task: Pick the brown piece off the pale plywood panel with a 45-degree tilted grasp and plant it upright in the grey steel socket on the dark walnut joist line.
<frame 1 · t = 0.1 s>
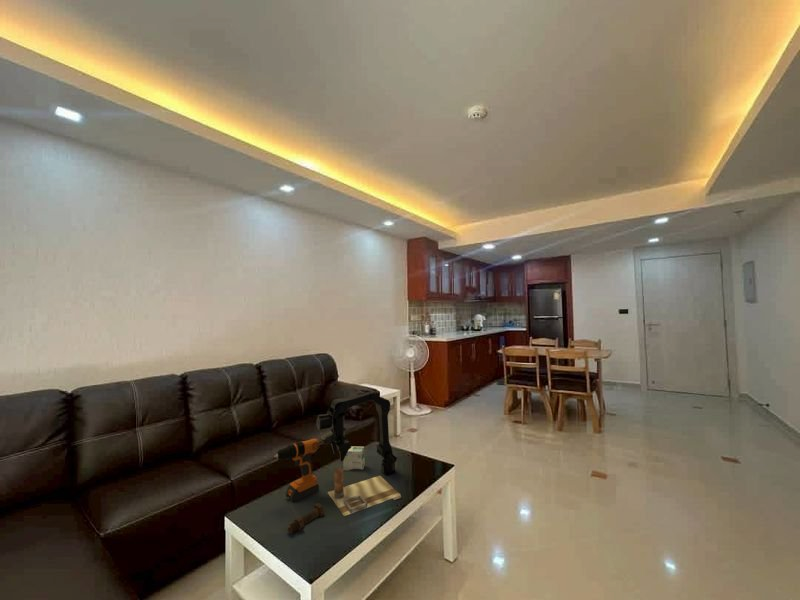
hand: (338, 457, 161), 15 cm above the table, tool pointing down, fingers open, 9 cm apart
subfloor panel: (363, 496, 153), on the table
bolt: (305, 525, 133), on the table
light bulb box: (354, 468, 180), on the table
power drill: (298, 497, 153), on the table
brown piece: (339, 496, 151), point 1 cm above the table, touching subfloor panel
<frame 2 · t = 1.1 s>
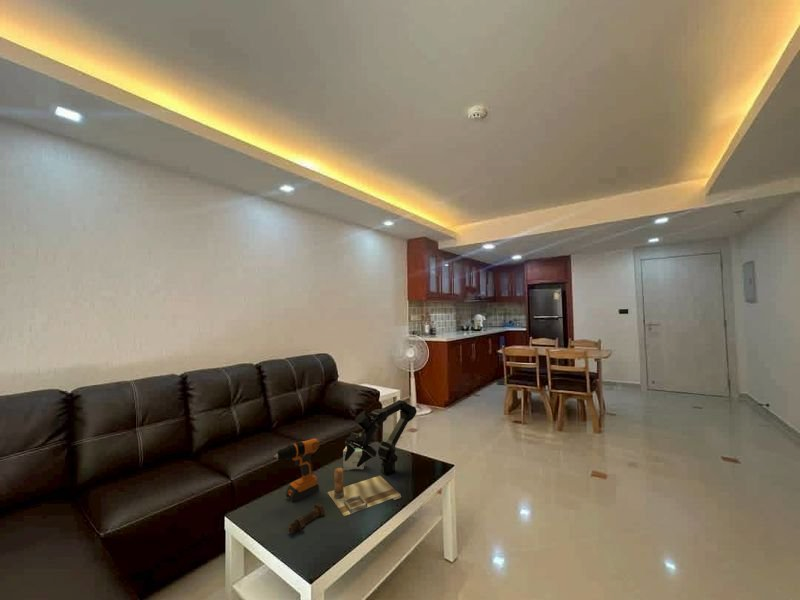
hand: (351, 463, 157), 13 cm above the table, tool tilted 45°, fingers open, 9 cm apart
nothing on the table moved.
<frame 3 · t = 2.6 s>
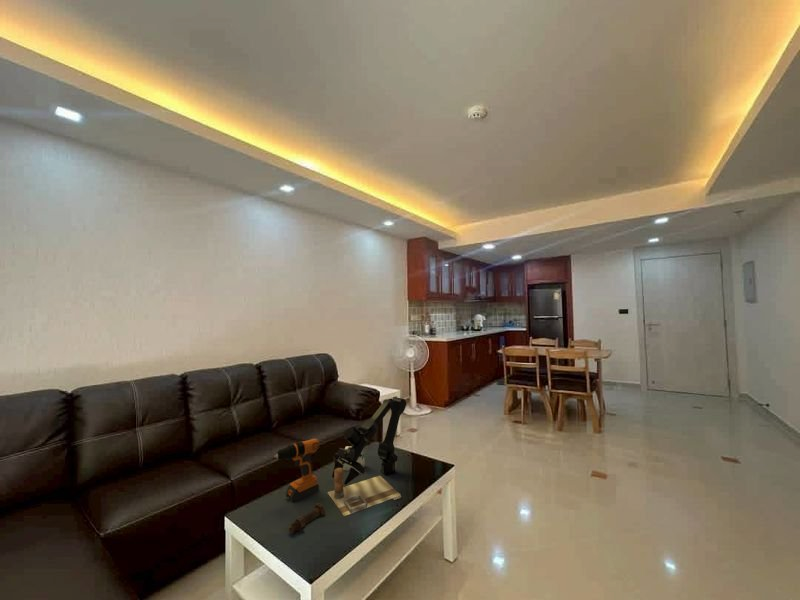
hand: (338, 480, 151), 8 cm above the table, tool tilted 45°, fingers open, 9 cm apart
nothing on the table moved.
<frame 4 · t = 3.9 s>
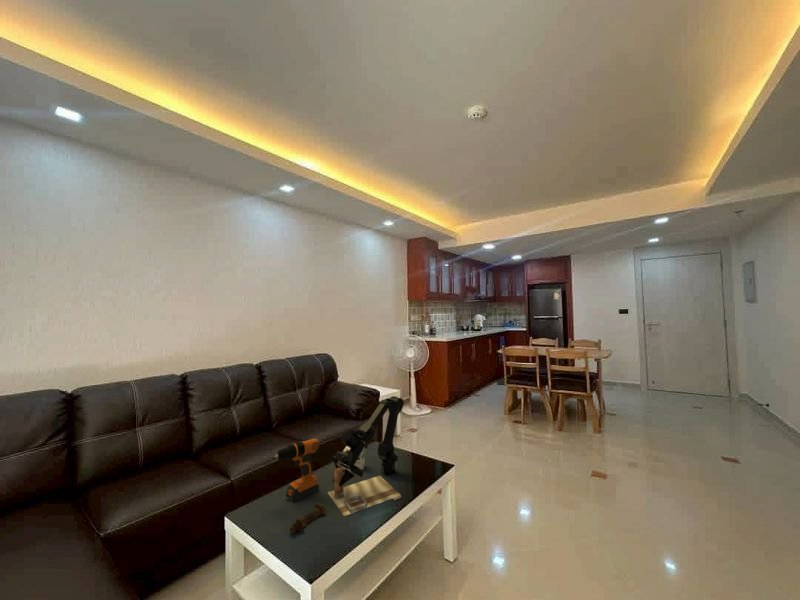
hand: (336, 484, 150), 7 cm above the table, tool tilted 45°, fingers closed on brown piece, 4 cm apart
brown piece: (339, 496, 151), point 1 cm above the table, touching gripper, subfloor panel
everything else where it was.
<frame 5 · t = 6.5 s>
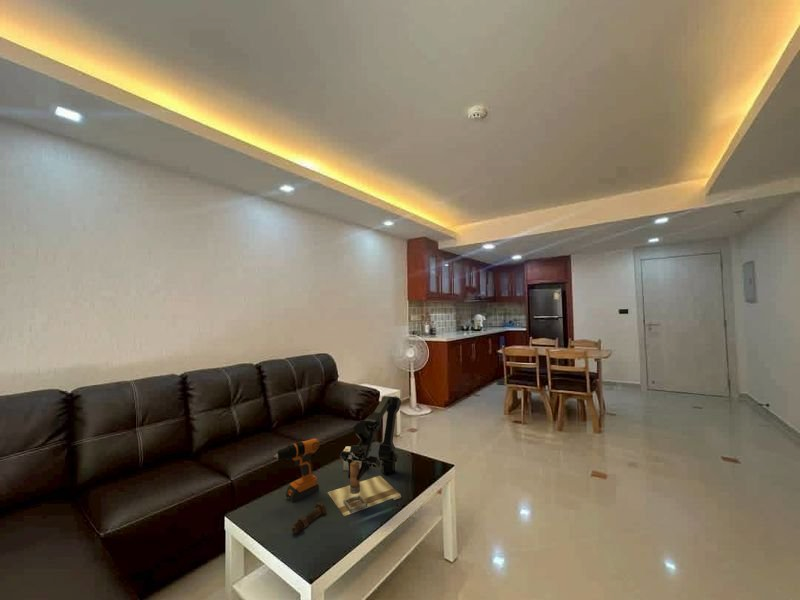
hand: (353, 479, 143), 13 cm above the table, tool tilted 45°, fingers closed on brown piece, 4 cm apart
brown piece: (355, 491, 144), point 7 cm above the table, touching gripper
when the fingers open (8 cm above the table, at t = 8.6 s): brown piece stays where it is, resting on subfloor panel.
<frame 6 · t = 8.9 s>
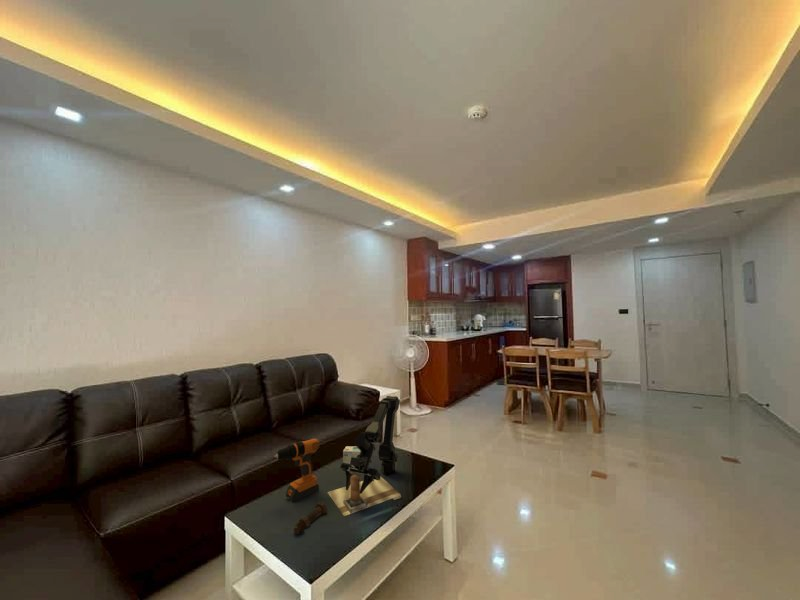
hand: (353, 491, 143), 8 cm above the table, tool tilted 45°, fingers open, 7 cm apart
brown piece: (355, 504, 144), point 1 cm above the table, touching subfloor panel
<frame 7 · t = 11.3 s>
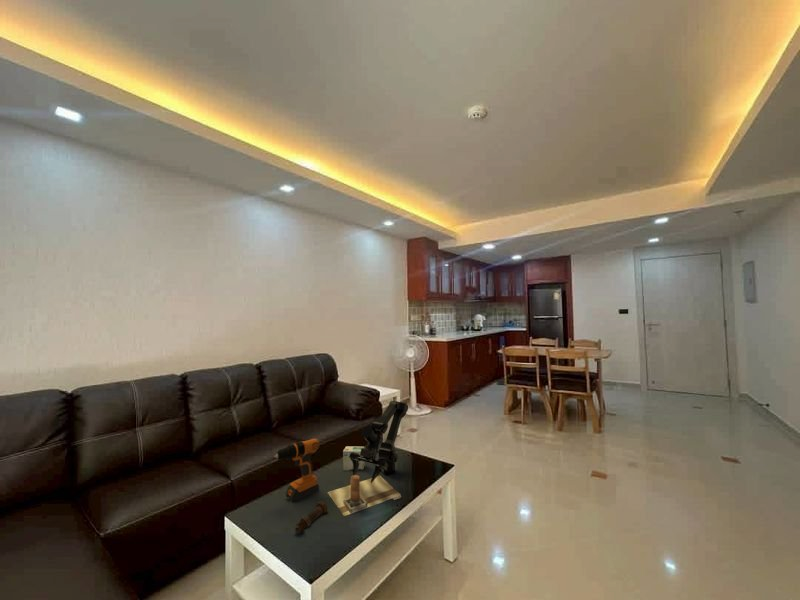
hand: (362, 480, 152), 8 cm above the table, tool tilted 40°, fingers open, 9 cm apart
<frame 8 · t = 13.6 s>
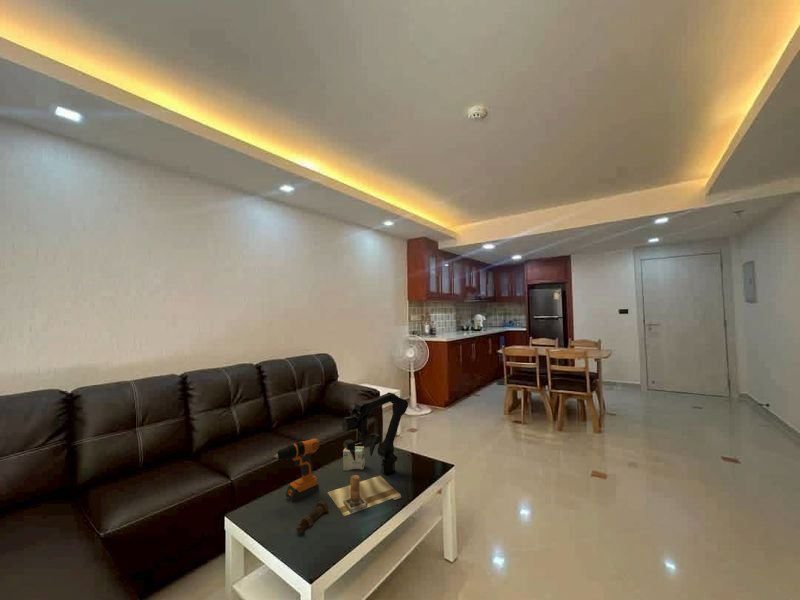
hand: (362, 458, 165), 12 cm above the table, tool pointing down, fingers open, 9 cm apart
at the end: brown piece 0.0 cm from the target spot on the subfloor panel, point 1.3 cm above the subfloor panel's base; brown piece tilted 0°; the gripper is holding nothing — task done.
